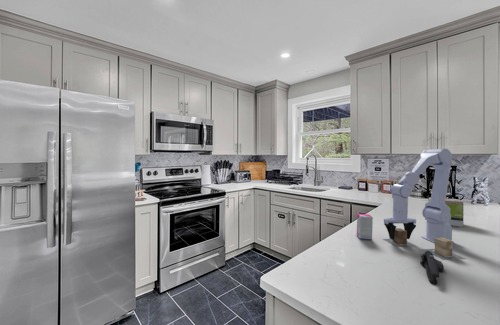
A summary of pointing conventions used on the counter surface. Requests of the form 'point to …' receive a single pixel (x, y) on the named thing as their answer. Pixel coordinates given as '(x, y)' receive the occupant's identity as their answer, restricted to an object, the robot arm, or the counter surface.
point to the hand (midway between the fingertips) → (399, 238)
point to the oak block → (443, 246)
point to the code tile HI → (453, 257)
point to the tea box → (455, 211)
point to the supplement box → (364, 226)
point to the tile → (400, 244)
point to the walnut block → (400, 236)
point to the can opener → (431, 266)
